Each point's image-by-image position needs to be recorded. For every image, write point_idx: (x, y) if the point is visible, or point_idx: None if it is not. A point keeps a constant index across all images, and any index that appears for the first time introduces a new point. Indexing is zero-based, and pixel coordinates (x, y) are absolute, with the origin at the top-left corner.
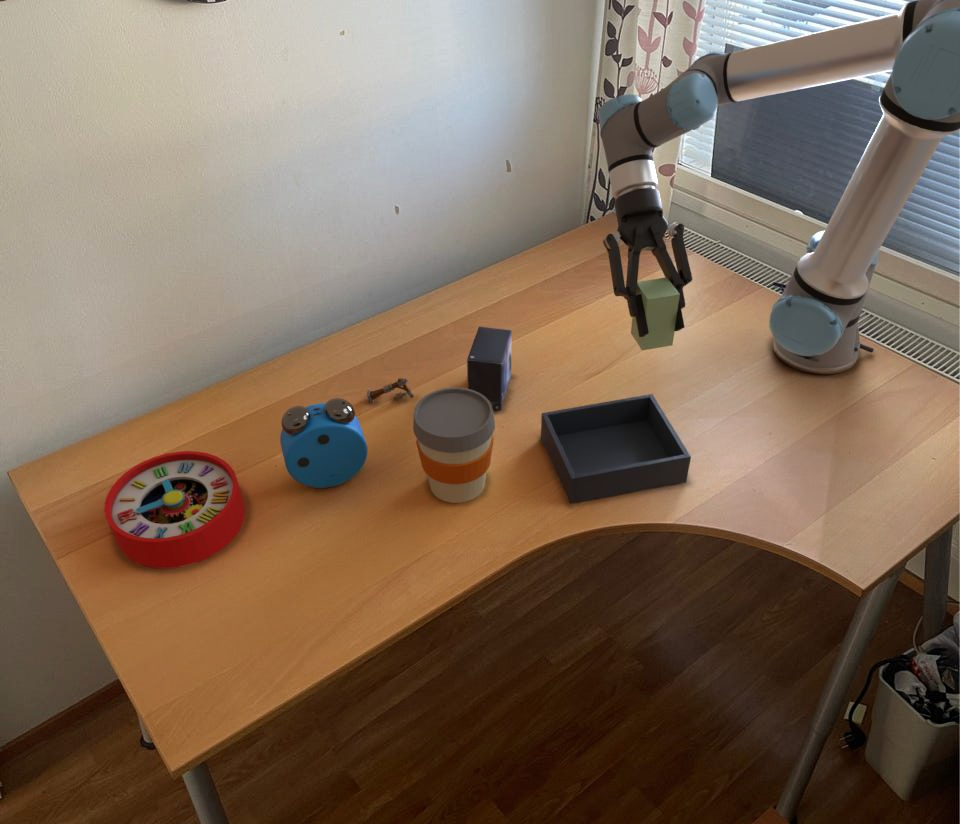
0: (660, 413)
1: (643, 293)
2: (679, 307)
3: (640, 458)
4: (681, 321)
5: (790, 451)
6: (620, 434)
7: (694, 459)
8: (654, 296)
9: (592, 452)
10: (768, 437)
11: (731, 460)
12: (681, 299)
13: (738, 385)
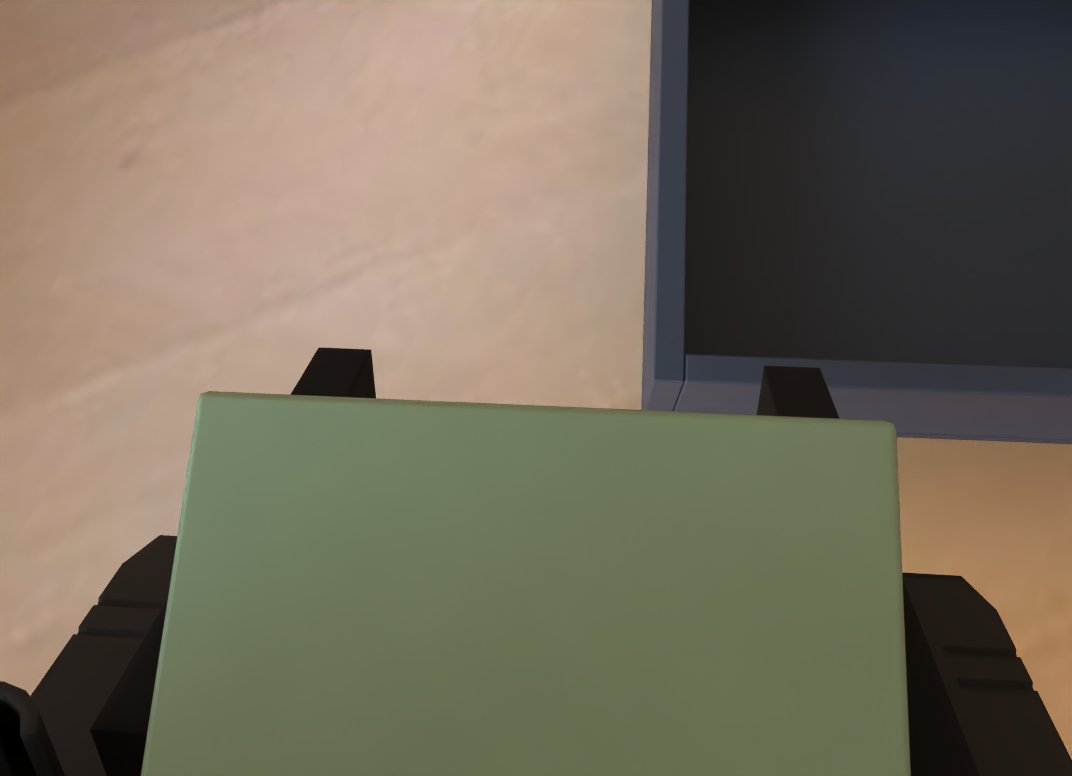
0: (682, 192)
1: (903, 686)
2: None
3: (809, 143)
4: (323, 383)
5: (121, 36)
6: (850, 330)
7: (550, 98)
8: (721, 473)
9: (1040, 243)
10: (152, 139)
11: (394, 51)
12: (134, 620)
13: (40, 548)
